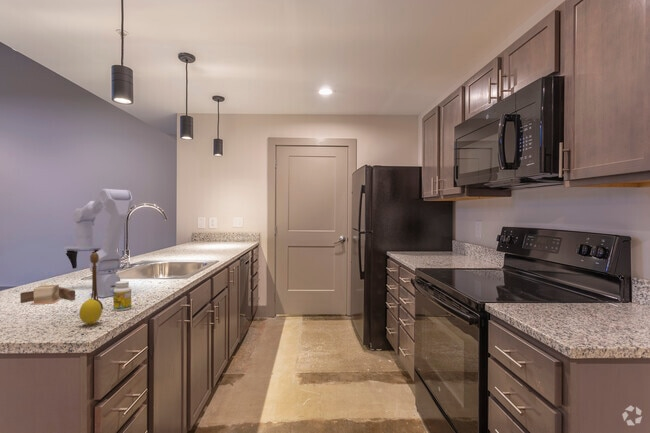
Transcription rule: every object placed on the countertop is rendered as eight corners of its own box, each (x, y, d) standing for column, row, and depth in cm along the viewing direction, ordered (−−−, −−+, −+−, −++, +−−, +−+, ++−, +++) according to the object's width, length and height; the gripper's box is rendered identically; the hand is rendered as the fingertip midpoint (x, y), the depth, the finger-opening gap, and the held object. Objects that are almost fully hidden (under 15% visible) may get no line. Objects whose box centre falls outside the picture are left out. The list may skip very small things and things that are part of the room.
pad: (62, 298, 130) (62, 297, 130) (52, 303, 123) (52, 302, 123) (40, 299, 128) (40, 299, 128) (30, 304, 121) (30, 304, 121)
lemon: (86, 322, 104) (86, 296, 104) (105, 321, 104) (105, 296, 104) (75, 328, 98) (75, 301, 98) (94, 327, 99) (94, 301, 98)
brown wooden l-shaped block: (75, 299, 128) (75, 290, 128) (36, 307, 118) (36, 297, 118) (58, 295, 134) (58, 286, 134) (20, 302, 124) (20, 292, 124)
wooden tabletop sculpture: (86, 308, 118) (85, 251, 117) (101, 306, 121) (101, 251, 120) (87, 312, 113) (86, 253, 113) (103, 310, 116) (103, 252, 115)
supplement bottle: (134, 307, 119) (134, 281, 119) (121, 312, 114) (121, 284, 114) (123, 306, 121) (123, 279, 120) (109, 310, 116) (109, 282, 115)
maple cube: (51, 302, 124) (51, 287, 124) (33, 303, 122) (33, 288, 122) (58, 298, 129) (58, 284, 129) (41, 299, 127) (41, 285, 127)
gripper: (107, 235, 150) (107, 265, 150) (69, 236, 146) (69, 266, 146) (101, 236, 143) (101, 268, 143) (61, 237, 139) (61, 269, 139)
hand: (84, 267), depth 144 cm, fingers open, 7 cm apart
